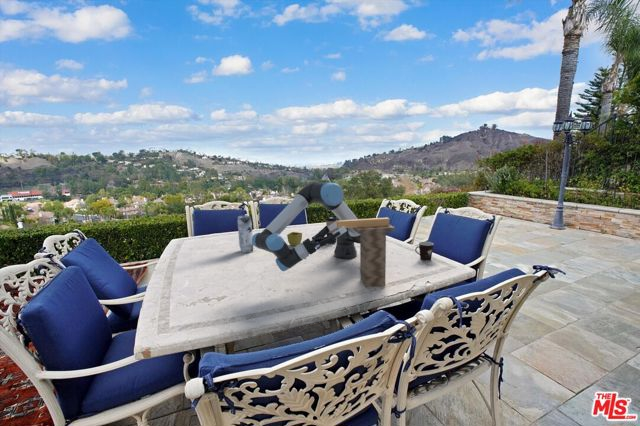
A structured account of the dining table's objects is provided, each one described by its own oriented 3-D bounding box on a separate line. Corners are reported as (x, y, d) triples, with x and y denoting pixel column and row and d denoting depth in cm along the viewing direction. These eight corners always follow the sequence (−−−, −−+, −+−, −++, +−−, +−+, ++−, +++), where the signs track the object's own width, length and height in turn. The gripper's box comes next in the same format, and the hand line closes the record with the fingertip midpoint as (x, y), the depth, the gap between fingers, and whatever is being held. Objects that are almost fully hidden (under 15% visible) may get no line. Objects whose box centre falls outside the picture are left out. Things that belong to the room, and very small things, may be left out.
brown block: (337, 228, 138) (337, 221, 137) (336, 227, 141) (336, 220, 140) (389, 225, 141) (389, 218, 141) (387, 224, 144) (387, 217, 144)
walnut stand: (358, 289, 140) (358, 229, 135) (352, 279, 152) (352, 224, 146) (393, 285, 142) (394, 227, 137) (384, 276, 154) (385, 222, 149)
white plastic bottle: (241, 254, 199) (238, 216, 195) (239, 250, 209) (236, 213, 204) (254, 252, 203) (251, 214, 198) (251, 248, 212) (248, 212, 208)
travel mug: (326, 241, 225) (325, 216, 221) (335, 240, 225) (335, 216, 222) (327, 244, 217) (326, 218, 214) (337, 243, 218) (336, 218, 214)
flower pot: (303, 244, 220) (302, 232, 218) (297, 247, 212) (296, 235, 210) (293, 243, 223) (292, 231, 222) (287, 246, 215) (286, 234, 214)
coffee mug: (430, 256, 183) (431, 241, 181) (434, 261, 175) (435, 245, 173) (412, 256, 184) (412, 241, 183) (415, 261, 176) (415, 245, 174)
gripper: (307, 247, 152) (341, 225, 152) (312, 263, 127) (352, 237, 128) (299, 236, 150) (333, 214, 150) (303, 250, 126) (344, 224, 126)
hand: (342, 225), depth 139 cm, fingers open, 13 cm apart
